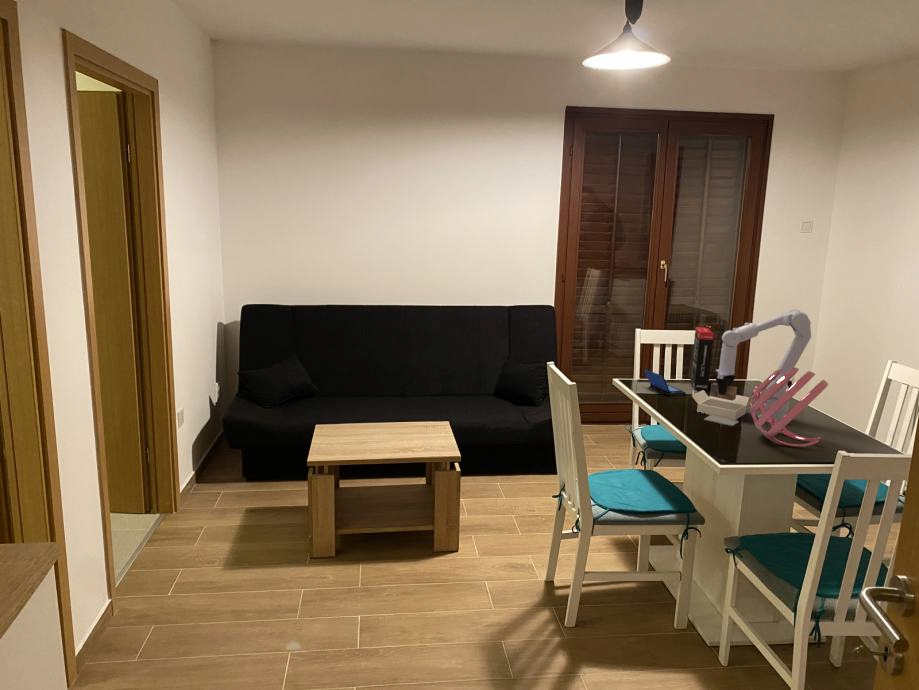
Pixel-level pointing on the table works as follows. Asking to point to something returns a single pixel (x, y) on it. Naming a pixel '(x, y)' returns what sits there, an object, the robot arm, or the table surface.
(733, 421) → the grey mat
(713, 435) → the table surface
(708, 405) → the carton
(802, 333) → the robot arm
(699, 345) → the graphics card box
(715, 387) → the capped block
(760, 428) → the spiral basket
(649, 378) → the handheld game console
